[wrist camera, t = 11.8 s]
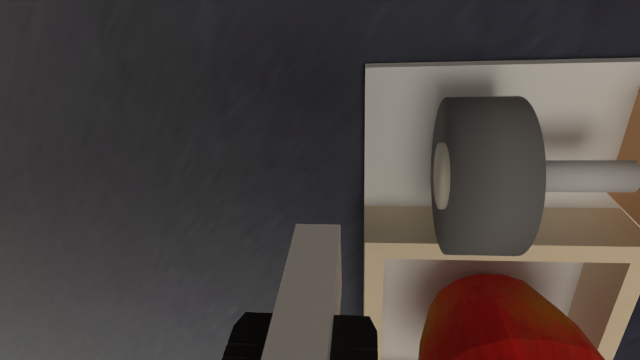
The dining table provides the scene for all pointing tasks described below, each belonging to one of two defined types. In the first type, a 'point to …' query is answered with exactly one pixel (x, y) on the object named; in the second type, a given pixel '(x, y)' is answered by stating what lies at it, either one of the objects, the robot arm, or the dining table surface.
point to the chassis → (559, 207)
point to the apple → (499, 324)
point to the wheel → (503, 176)
